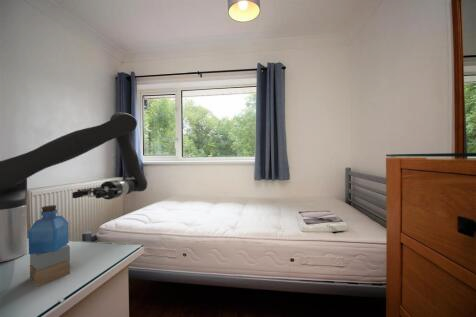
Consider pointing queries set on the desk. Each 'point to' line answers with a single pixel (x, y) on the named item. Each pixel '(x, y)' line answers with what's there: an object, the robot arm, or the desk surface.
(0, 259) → the robot arm
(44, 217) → the perfume bottle
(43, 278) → the tower base block
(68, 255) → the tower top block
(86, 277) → the desk surface
